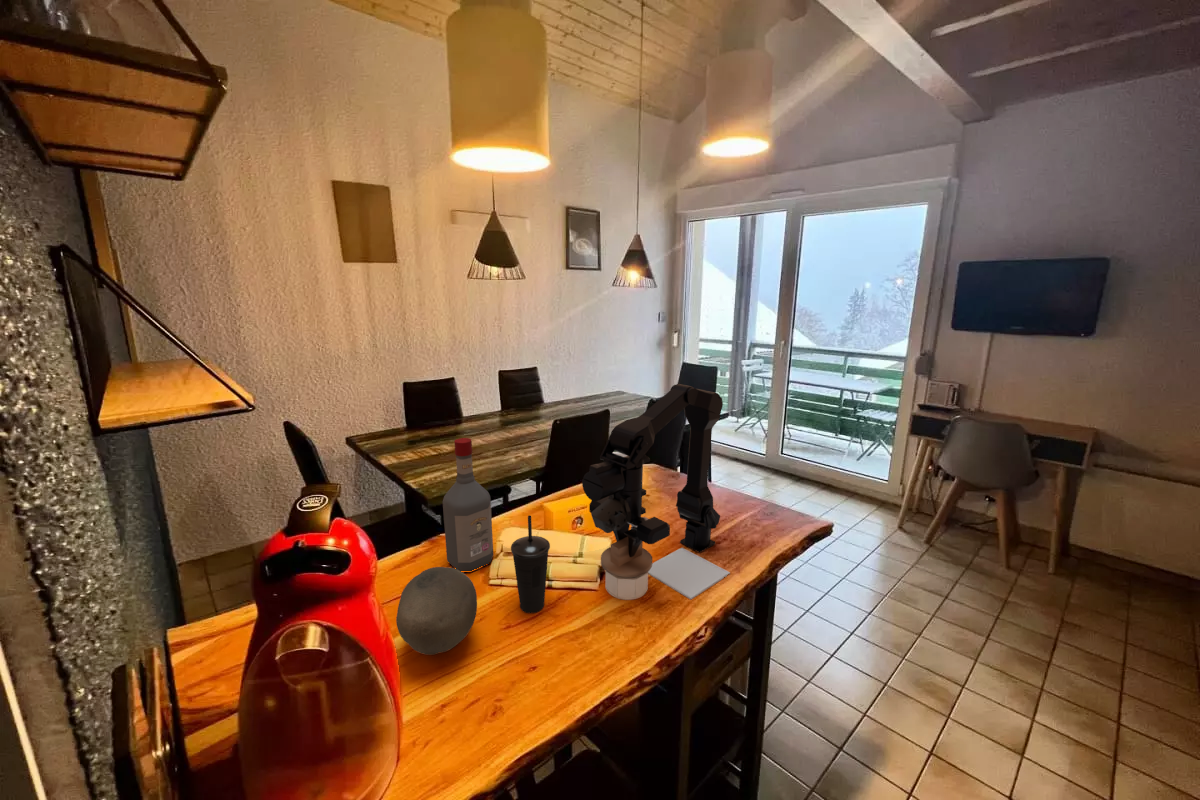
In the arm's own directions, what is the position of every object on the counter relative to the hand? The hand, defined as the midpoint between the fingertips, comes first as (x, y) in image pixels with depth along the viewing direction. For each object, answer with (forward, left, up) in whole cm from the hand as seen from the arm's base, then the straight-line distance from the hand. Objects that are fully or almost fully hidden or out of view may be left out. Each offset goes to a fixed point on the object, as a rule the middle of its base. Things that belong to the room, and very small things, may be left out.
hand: (627, 553), depth 105 cm
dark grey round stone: (+38, -9, -8) cm, 40 cm away
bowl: (0, 0, -8) cm, 8 cm away
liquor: (+21, -31, -8) cm, 38 cm away
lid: (0, 0, -2) cm, 2 cm away
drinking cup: (+19, -8, -8) cm, 22 cm away
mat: (-14, +5, -8) cm, 17 cm away
